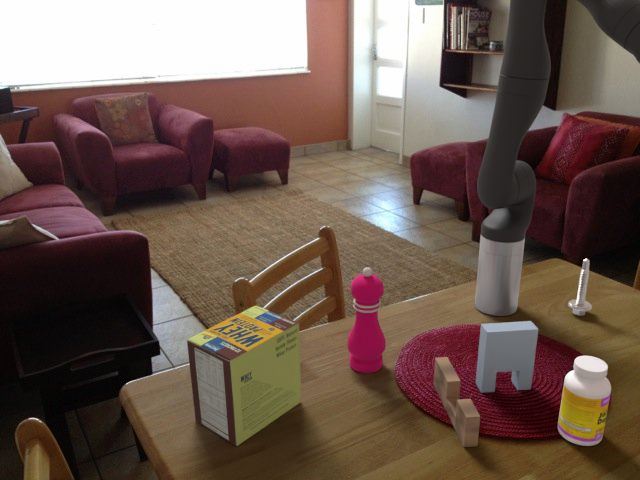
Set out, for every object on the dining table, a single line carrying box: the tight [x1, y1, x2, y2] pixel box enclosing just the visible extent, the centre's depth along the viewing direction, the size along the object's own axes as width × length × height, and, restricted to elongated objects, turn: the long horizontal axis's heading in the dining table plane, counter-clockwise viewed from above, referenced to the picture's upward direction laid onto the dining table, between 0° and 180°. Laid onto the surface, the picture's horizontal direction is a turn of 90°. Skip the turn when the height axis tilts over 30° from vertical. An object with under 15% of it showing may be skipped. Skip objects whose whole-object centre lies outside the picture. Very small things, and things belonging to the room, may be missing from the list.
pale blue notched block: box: [475, 320, 539, 394], centre depth 106 cm, size 9×3×12 cm, turn 96°
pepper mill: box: [346, 267, 387, 374], centre depth 112 cm, size 7×7×20 cm
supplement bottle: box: [557, 355, 612, 447], centre depth 94 cm, size 7×7×13 cm
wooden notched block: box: [433, 356, 481, 448], centre depth 101 cm, size 17×2×6 cm, turn 6°
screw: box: [567, 258, 593, 317], centre depth 132 cm, size 13×5×5 cm
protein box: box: [186, 305, 302, 447], centre depth 100 cm, size 10×15×16 cm
